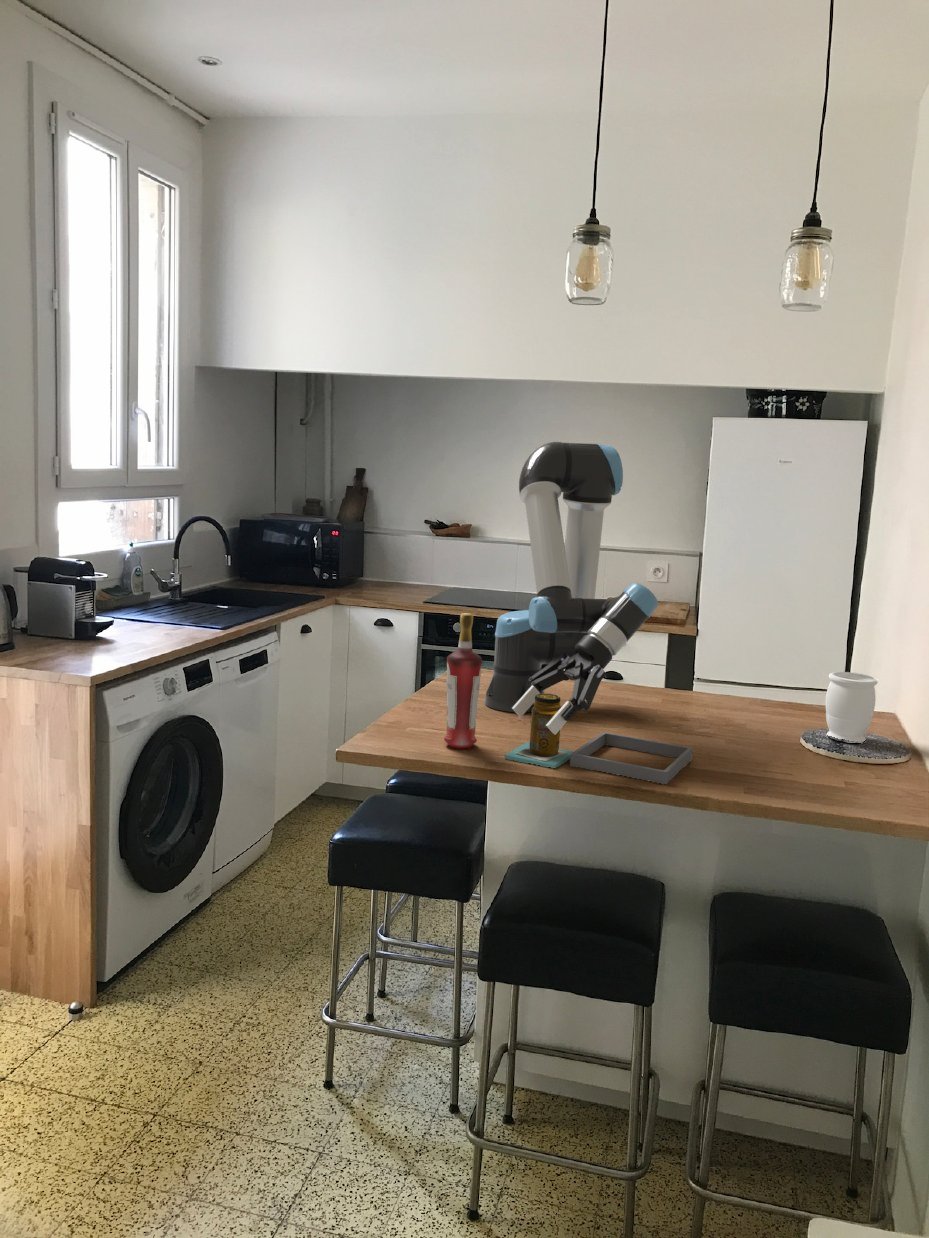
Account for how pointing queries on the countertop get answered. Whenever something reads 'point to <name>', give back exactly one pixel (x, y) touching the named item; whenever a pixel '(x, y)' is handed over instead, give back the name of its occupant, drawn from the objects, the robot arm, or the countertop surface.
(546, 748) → the condiment
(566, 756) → the coaster
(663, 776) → the frame
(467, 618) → the liquor
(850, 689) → the jar
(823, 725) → the countertop surface
